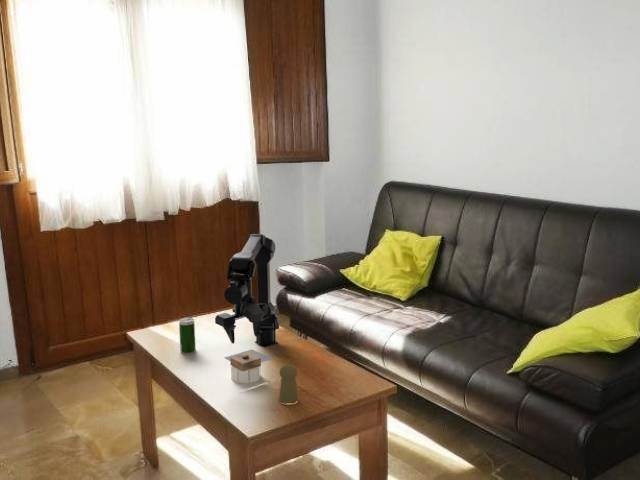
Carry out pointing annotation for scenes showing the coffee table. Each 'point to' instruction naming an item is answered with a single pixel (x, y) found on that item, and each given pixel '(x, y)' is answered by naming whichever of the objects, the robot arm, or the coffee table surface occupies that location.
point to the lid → (245, 361)
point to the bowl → (245, 375)
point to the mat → (263, 357)
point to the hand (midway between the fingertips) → (244, 339)
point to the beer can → (187, 335)
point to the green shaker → (288, 384)
